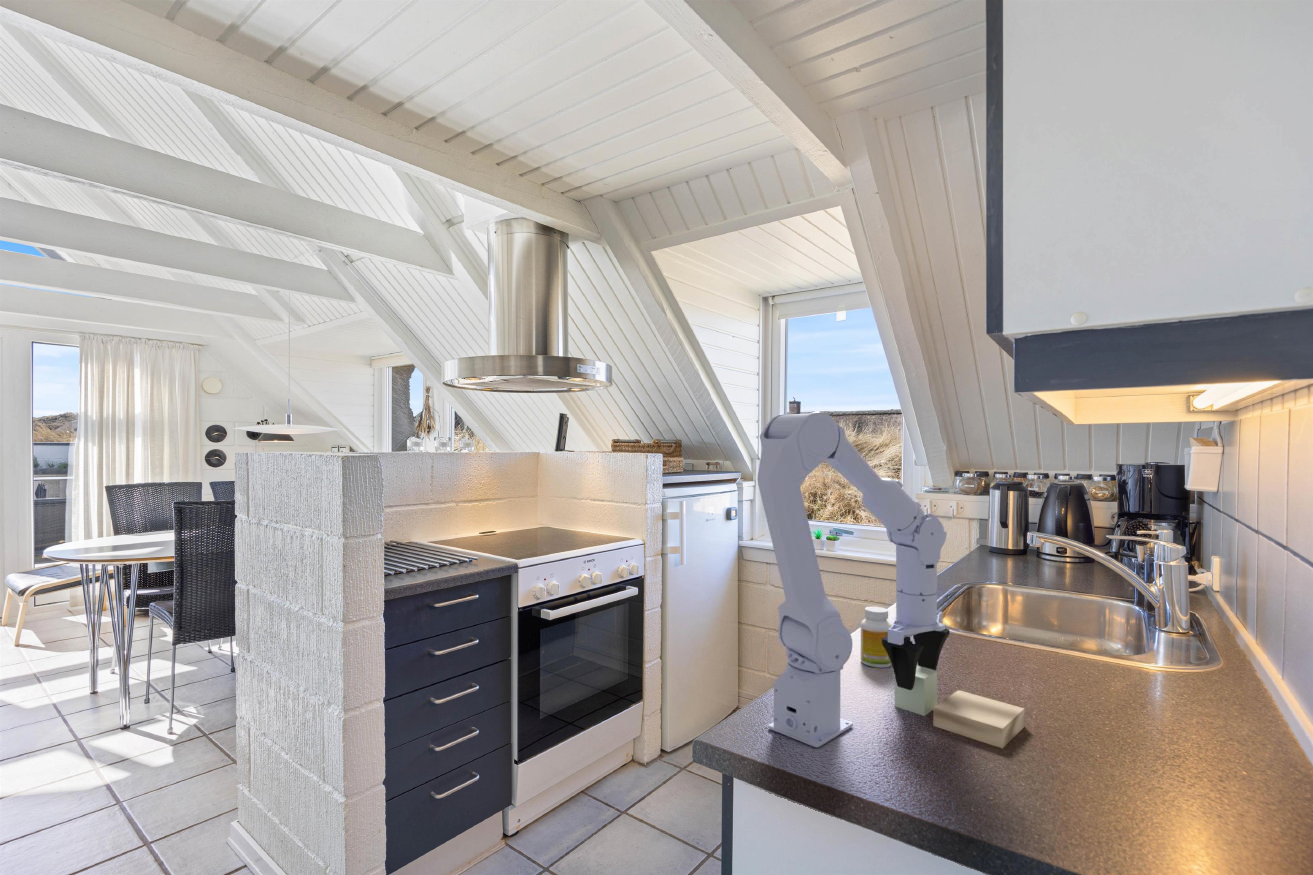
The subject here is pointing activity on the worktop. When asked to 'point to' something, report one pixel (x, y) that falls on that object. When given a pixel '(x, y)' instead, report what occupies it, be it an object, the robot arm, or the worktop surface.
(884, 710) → the worktop surface
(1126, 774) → the worktop surface
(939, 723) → the oak base
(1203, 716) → the worktop surface
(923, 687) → the sage block
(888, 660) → the supplement bottle
